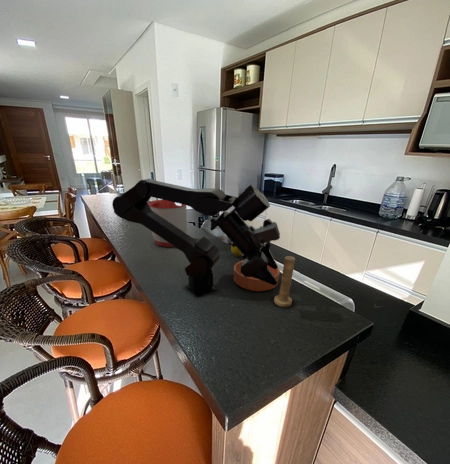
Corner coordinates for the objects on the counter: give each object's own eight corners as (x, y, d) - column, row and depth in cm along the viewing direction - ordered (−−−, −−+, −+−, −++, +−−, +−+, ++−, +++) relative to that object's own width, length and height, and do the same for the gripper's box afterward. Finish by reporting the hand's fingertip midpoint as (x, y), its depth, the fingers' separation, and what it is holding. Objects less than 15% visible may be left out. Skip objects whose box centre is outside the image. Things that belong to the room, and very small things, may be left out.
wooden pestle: (283, 309, 66) (291, 263, 60) (270, 300, 70) (276, 256, 64) (295, 303, 69) (303, 259, 63) (281, 295, 72) (288, 252, 66)
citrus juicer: (197, 240, 111) (197, 194, 102) (170, 252, 98) (167, 201, 89) (172, 233, 118) (169, 190, 109) (143, 243, 105) (137, 195, 96)
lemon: (234, 260, 93) (236, 240, 90) (228, 255, 97) (228, 235, 94) (247, 258, 95) (249, 238, 92) (240, 253, 100) (241, 234, 96)
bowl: (255, 298, 70) (256, 284, 68) (224, 278, 80) (224, 266, 78) (287, 284, 78) (289, 271, 76) (255, 267, 88) (256, 256, 86)
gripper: (260, 222, 51) (304, 275, 55) (265, 203, 68) (299, 246, 71) (221, 252, 56) (264, 300, 59) (235, 228, 73) (268, 267, 76)
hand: (276, 275), depth 66 cm, fingers open, 9 cm apart
